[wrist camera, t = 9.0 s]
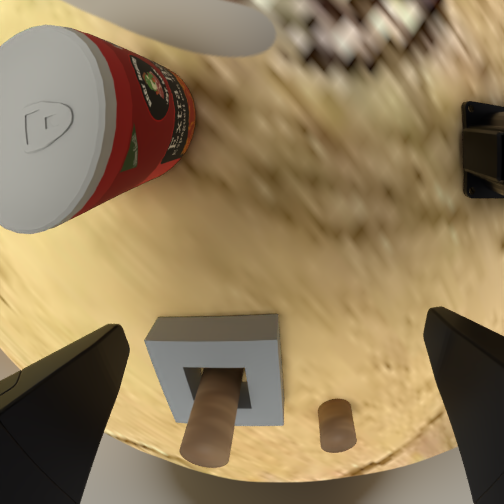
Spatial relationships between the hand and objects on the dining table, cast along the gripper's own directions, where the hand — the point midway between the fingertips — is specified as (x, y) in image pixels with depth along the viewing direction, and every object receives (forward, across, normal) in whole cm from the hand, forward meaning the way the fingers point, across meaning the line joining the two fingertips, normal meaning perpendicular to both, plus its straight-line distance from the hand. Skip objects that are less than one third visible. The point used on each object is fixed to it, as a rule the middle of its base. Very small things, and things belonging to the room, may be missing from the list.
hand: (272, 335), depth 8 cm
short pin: (+12, -4, +18) cm, 22 cm away
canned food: (+12, +8, -7) cm, 16 cm away
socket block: (+12, +5, +12) cm, 17 cm away
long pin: (+12, +5, +12) cm, 17 cm away
